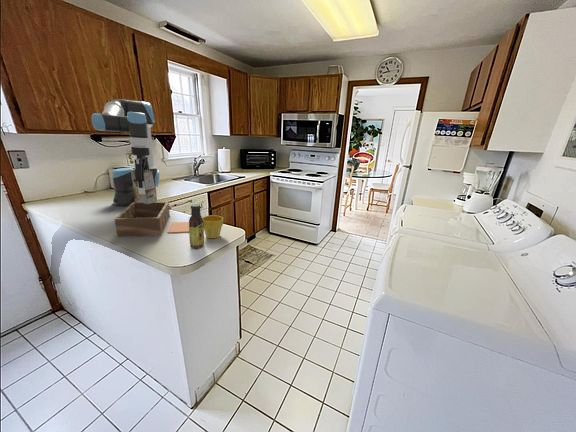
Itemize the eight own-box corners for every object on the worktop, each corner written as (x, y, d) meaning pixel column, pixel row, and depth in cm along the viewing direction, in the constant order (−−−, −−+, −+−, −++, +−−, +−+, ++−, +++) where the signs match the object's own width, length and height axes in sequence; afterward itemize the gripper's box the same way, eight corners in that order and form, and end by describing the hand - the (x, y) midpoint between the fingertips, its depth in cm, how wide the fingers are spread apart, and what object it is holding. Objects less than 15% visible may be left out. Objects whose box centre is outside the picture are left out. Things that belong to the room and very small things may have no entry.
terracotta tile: (171, 223, 133) (171, 222, 133) (198, 222, 137) (198, 221, 137) (167, 233, 121) (167, 232, 120) (196, 232, 125) (196, 231, 125)
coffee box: (158, 201, 125) (155, 171, 120) (147, 204, 119) (143, 172, 114) (145, 198, 128) (141, 168, 123) (134, 201, 122) (129, 170, 117)
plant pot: (212, 230, 128) (212, 213, 125) (227, 235, 124) (227, 217, 121) (197, 237, 119) (196, 218, 116) (213, 242, 115) (213, 223, 112)
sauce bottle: (202, 249, 107) (200, 208, 101) (188, 249, 106) (185, 207, 100) (205, 243, 113) (204, 203, 107) (192, 243, 113) (190, 203, 106)
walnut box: (134, 216, 138) (132, 202, 135) (169, 216, 143) (168, 202, 140) (117, 236, 112) (114, 219, 109) (160, 235, 118) (159, 218, 115)
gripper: (138, 144, 124) (142, 186, 131) (122, 147, 103) (129, 197, 110) (154, 145, 126) (157, 186, 133) (142, 149, 105) (147, 197, 113)
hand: (145, 191), depth 122 cm, fingers closed on coffee box, 10 cm apart
